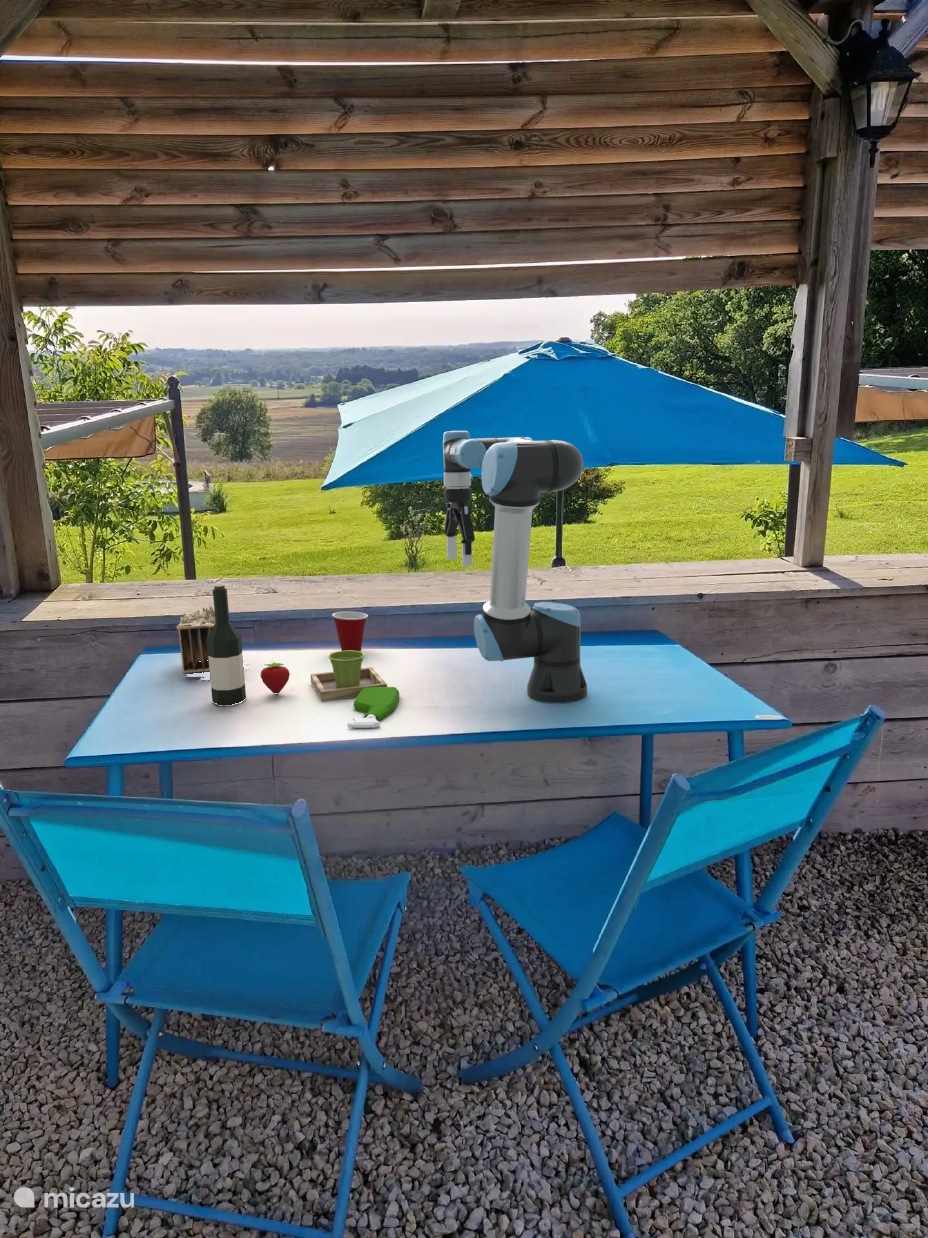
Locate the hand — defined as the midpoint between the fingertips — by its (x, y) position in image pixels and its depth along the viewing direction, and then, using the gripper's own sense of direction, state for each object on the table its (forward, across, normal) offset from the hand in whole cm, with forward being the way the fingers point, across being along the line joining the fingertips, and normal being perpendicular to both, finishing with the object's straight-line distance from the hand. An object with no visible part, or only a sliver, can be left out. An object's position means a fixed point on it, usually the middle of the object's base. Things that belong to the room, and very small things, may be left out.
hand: (459, 562), depth 253 cm
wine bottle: (+29, -13, +67) cm, 74 cm away
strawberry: (+29, -12, +55) cm, 63 cm away
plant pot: (+28, -14, +36) cm, 48 cm away
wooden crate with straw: (+29, +21, +71) cm, 79 cm away
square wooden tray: (+29, -14, +36) cm, 48 cm away
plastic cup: (+29, +22, +28) cm, 46 cm away
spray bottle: (+29, -35, +35) cm, 58 cm away
